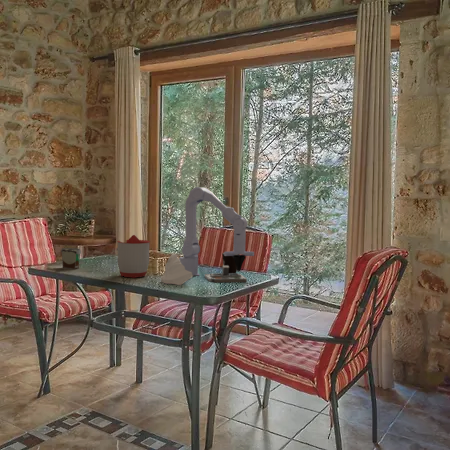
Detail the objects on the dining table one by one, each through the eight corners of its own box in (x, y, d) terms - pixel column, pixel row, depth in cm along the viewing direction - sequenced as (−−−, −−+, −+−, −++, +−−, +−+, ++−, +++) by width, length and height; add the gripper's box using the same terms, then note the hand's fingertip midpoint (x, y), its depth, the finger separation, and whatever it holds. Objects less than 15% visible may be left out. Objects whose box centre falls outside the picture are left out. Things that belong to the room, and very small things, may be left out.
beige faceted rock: (167, 289, 221) (159, 258, 220) (161, 286, 236) (154, 256, 235) (194, 281, 225) (186, 250, 224) (187, 278, 239) (179, 249, 238)
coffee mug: (236, 274, 257) (237, 255, 256) (220, 273, 258) (220, 254, 258) (240, 271, 268) (241, 252, 267) (224, 270, 270) (225, 251, 269)
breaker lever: (222, 276, 241) (222, 266, 241) (220, 275, 244) (221, 265, 244) (230, 276, 242) (230, 266, 242) (228, 275, 245) (229, 265, 245)
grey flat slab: (209, 281, 236) (209, 276, 235) (204, 276, 247) (204, 272, 247) (246, 280, 239) (246, 276, 239) (240, 276, 251) (240, 272, 251)
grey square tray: (211, 282, 233) (211, 279, 233) (205, 276, 249) (205, 273, 249) (246, 282, 236) (246, 279, 236) (237, 276, 252) (237, 273, 252)
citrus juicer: (129, 271, 256) (129, 232, 254) (156, 275, 247) (156, 235, 245) (106, 275, 242) (107, 234, 241) (134, 280, 233) (135, 237, 232)
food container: (86, 268, 263) (86, 249, 262) (77, 269, 258) (77, 250, 257) (70, 265, 269) (70, 247, 269) (60, 267, 264) (61, 248, 264)
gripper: (226, 243, 238) (225, 272, 239) (256, 243, 241) (255, 272, 242) (223, 242, 245) (222, 269, 246) (252, 242, 248) (251, 269, 249)
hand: (238, 270), depth 244 cm, fingers closed
